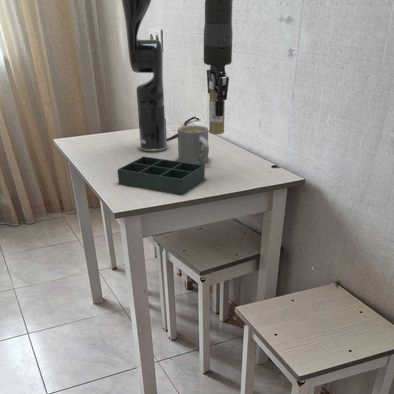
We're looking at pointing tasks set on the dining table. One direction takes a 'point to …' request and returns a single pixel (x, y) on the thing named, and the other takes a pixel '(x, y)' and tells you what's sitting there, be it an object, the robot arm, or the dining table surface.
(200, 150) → the coffee mug
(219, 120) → the sprinkles bottle
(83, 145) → the dining table surface
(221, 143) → the dining table surface
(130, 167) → the rack
